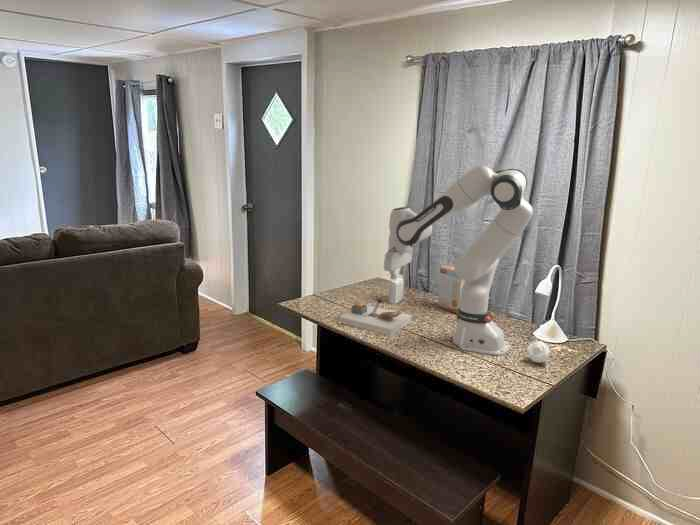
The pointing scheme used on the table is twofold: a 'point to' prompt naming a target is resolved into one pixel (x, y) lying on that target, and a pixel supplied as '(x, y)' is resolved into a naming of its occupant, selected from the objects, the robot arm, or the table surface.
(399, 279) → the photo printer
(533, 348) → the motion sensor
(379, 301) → the toggle lever
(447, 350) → the table surface
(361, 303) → the push button
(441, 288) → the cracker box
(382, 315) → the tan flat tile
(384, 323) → the switch panel
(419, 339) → the table surface
